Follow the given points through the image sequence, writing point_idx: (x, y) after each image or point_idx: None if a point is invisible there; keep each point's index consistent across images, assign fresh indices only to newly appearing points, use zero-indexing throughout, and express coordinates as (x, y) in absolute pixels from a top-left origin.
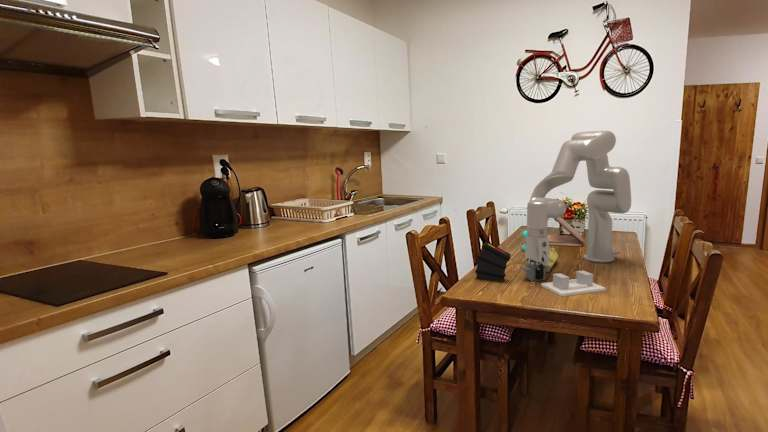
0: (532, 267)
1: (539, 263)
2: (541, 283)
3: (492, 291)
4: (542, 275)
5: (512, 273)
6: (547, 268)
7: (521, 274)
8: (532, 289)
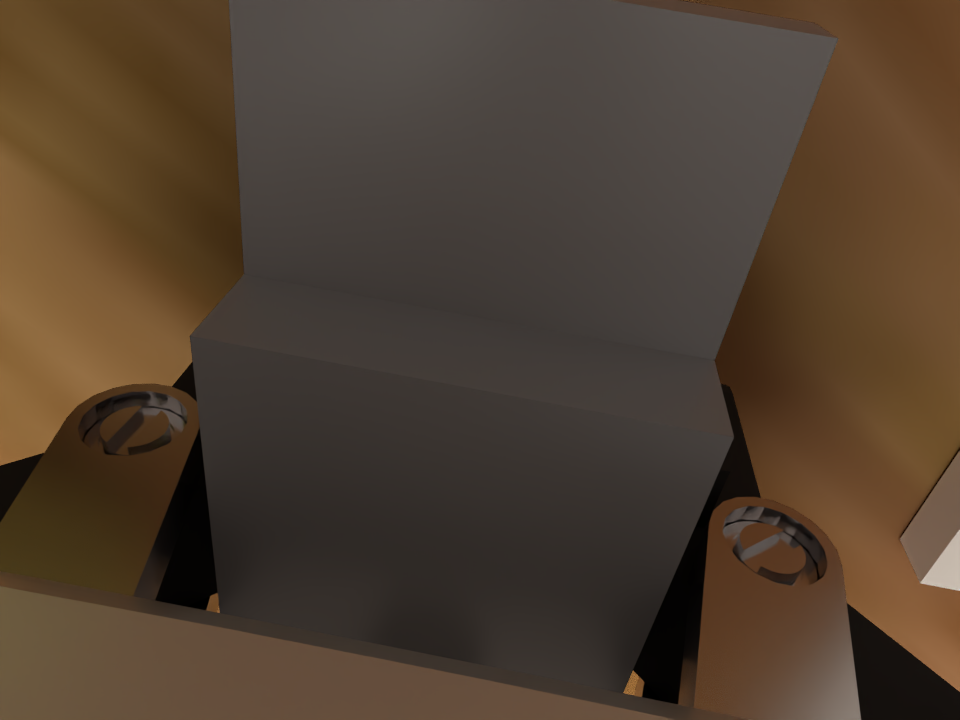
0: None
1: (368, 478)
2: (928, 582)
3: None
4: (732, 413)
5: (6, 434)
6: (737, 255)
7: (101, 347)
8: None
